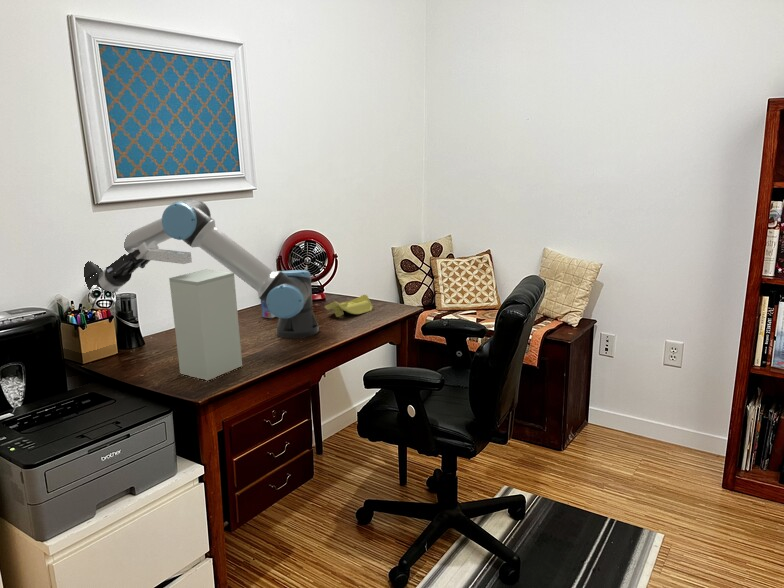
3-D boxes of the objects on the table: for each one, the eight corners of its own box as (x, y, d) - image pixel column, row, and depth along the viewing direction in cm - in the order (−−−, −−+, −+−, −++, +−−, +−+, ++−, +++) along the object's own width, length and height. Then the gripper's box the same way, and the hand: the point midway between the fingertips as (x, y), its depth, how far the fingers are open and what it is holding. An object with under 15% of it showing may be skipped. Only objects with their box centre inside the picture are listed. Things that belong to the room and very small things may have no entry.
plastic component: (351, 300, 262) (368, 292, 256) (357, 317, 261) (374, 309, 256) (319, 308, 246) (337, 300, 240) (326, 325, 245) (343, 318, 240)
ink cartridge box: (277, 311, 257) (275, 276, 254) (287, 312, 255) (285, 278, 251) (261, 317, 249) (258, 281, 246) (271, 318, 246) (268, 283, 243)
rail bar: (132, 257, 197) (131, 248, 196) (140, 256, 200) (139, 247, 199) (183, 264, 185) (182, 254, 184) (191, 262, 187) (190, 252, 186)
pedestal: (180, 374, 189) (169, 278, 182) (215, 360, 201) (206, 269, 194) (207, 381, 183) (197, 282, 176) (242, 366, 195) (233, 272, 187)
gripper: (141, 281, 213) (177, 252, 200) (98, 291, 200) (133, 260, 186) (131, 262, 213) (167, 231, 200) (88, 270, 200) (122, 238, 187)
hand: (150, 245), depth 193 cm, fingers closed on rail bar, 3 cm apart
